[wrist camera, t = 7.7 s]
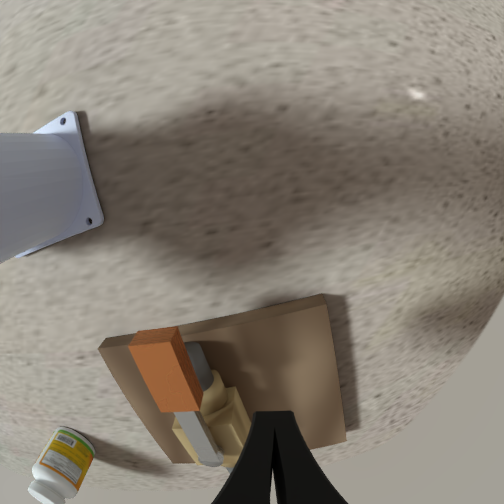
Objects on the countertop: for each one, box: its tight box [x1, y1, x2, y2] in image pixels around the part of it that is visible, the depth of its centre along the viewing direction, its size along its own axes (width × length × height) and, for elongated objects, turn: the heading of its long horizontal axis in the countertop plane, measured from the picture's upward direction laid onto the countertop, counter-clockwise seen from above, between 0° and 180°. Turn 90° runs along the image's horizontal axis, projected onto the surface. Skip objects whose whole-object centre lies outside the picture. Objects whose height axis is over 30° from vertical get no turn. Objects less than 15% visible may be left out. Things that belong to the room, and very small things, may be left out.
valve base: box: [98, 294, 347, 474], centre depth 19 cm, size 16×14×5 cm
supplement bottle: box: [28, 427, 95, 504], centre depth 21 cm, size 5×5×10 cm
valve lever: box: [128, 326, 224, 467], centre depth 15 cm, size 10×2×1 cm, turn 12°
